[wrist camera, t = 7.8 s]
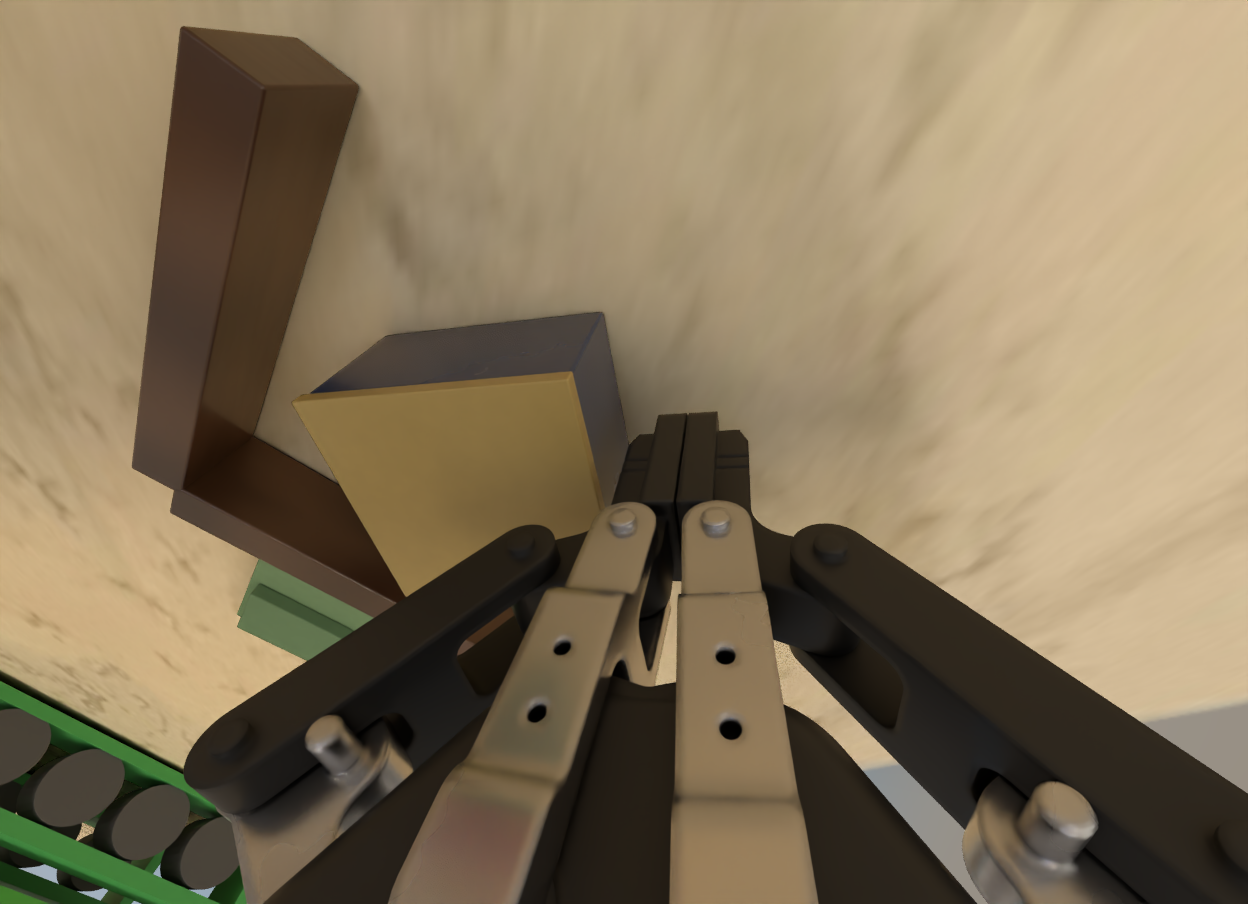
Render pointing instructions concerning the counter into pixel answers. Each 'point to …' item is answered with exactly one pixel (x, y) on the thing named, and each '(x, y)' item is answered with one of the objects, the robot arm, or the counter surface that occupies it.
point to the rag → (295, 613)
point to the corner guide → (247, 308)
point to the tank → (102, 819)
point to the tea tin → (472, 437)
